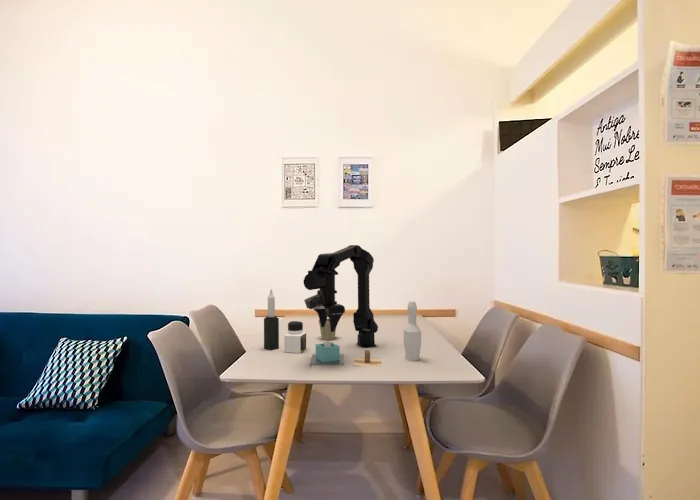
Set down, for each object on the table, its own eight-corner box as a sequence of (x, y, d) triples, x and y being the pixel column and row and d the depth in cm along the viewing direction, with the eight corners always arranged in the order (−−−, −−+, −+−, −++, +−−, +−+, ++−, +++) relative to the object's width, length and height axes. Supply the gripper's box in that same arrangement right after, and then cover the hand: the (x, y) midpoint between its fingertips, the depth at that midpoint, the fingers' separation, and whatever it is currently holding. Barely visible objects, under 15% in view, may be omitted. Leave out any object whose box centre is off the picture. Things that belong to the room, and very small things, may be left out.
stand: (353, 359, 144) (353, 347, 144) (379, 359, 144) (379, 347, 144) (354, 368, 134) (354, 354, 134) (382, 367, 134) (382, 354, 134)
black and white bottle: (273, 346, 165) (272, 288, 165) (280, 348, 161) (279, 289, 161) (262, 348, 161) (262, 289, 161) (269, 350, 158) (269, 290, 157)
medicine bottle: (300, 353, 153) (300, 323, 153) (284, 352, 155) (284, 322, 155) (306, 348, 160) (306, 320, 160) (290, 348, 162) (290, 319, 162)
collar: (315, 357, 144) (315, 344, 144) (332, 355, 147) (332, 342, 147) (322, 362, 138) (322, 348, 137) (339, 359, 140) (339, 346, 140)
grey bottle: (400, 359, 145) (400, 301, 144) (414, 357, 147) (414, 300, 147) (409, 363, 139) (409, 303, 139) (424, 361, 141) (424, 302, 141)
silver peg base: (312, 357, 148) (312, 339, 148) (343, 356, 148) (343, 338, 148) (309, 366, 136) (309, 346, 136) (343, 366, 136) (343, 346, 136)
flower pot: (337, 341, 173) (337, 322, 173) (317, 341, 173) (317, 322, 173) (338, 336, 182) (338, 318, 182) (319, 336, 183) (319, 318, 183)
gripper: (298, 286, 147) (298, 326, 147) (315, 291, 130) (316, 336, 130) (325, 285, 152) (325, 324, 152) (345, 289, 135) (345, 333, 135)
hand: (327, 329), depth 142 cm, fingers open, 9 cm apart
